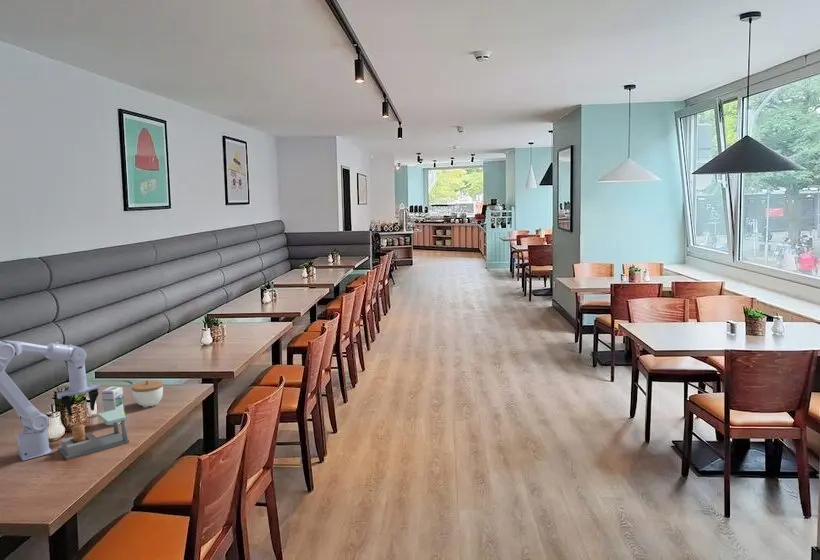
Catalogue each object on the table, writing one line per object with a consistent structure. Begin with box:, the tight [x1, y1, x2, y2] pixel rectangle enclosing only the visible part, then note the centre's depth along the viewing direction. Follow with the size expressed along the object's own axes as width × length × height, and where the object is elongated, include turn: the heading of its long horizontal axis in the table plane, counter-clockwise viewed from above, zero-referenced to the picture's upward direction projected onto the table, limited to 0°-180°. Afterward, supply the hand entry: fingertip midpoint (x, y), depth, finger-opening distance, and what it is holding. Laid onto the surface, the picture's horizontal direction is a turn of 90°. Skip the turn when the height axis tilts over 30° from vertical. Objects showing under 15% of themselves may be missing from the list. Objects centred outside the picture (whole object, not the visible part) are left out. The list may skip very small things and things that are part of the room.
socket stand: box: [57, 409, 130, 461], centre depth 228 cm, size 21×12×10 cm, turn 132°
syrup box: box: [100, 386, 127, 426], centre depth 252 cm, size 6×6×14 cm
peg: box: [71, 424, 86, 444], centre depth 225 cm, size 4×4×8 cm
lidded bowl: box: [131, 379, 164, 408], centre depth 273 cm, size 13×13×11 cm
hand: (81, 412), depth 235 cm, fingers open, 7 cm apart
